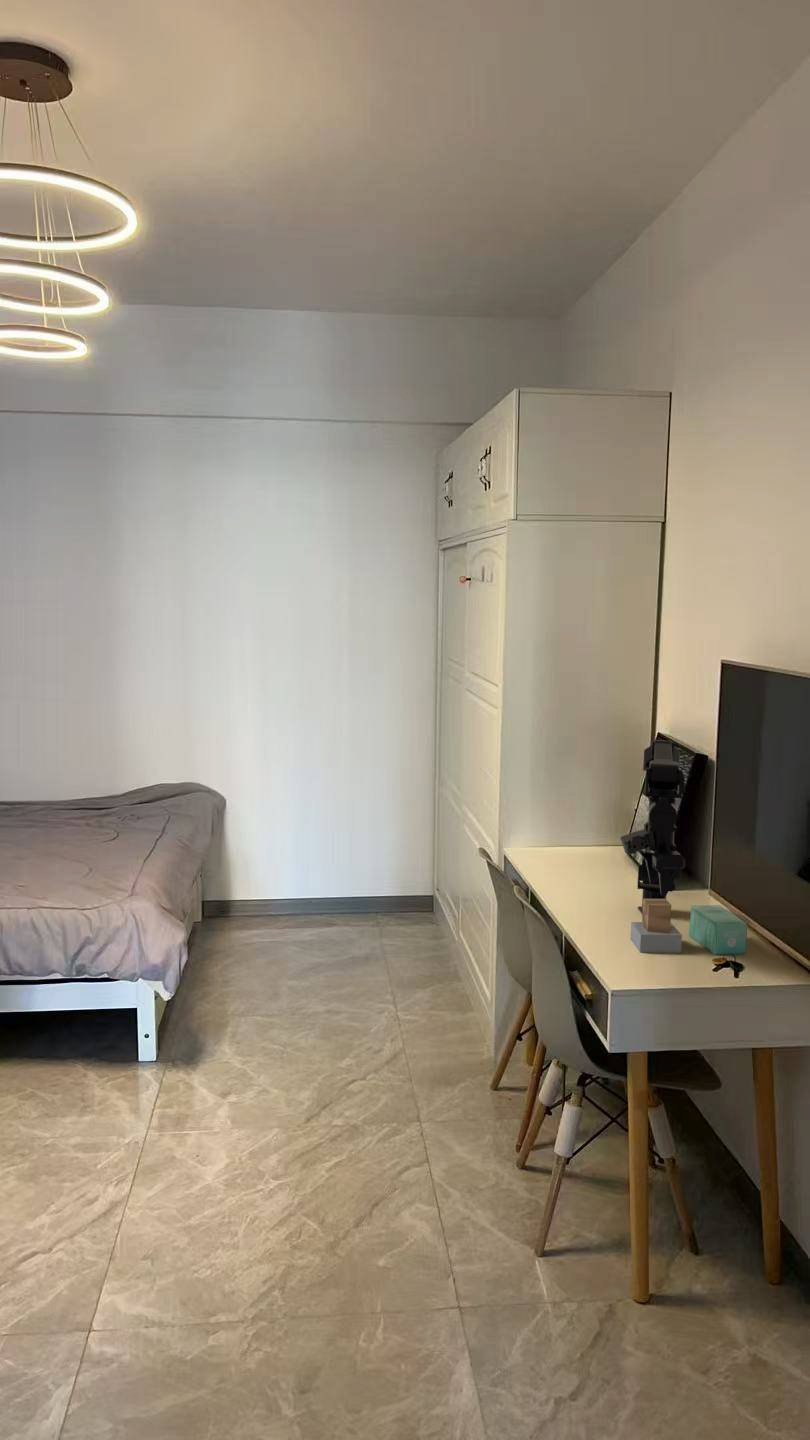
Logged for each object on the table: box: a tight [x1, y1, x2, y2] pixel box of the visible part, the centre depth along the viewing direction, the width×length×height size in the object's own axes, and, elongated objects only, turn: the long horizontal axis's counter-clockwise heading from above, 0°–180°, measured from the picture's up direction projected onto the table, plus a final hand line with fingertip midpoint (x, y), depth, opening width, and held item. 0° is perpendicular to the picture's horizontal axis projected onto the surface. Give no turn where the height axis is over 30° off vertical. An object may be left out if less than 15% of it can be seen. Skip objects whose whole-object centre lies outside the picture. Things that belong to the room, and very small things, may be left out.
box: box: [688, 904, 748, 956], centre depth 241 cm, size 7×14×8 cm, turn 10°
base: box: [629, 921, 683, 954], centre depth 240 cm, size 9×9×4 cm
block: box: [641, 898, 672, 932], centre depth 239 cm, size 5×5×6 cm
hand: (658, 889), depth 239 cm, fingers open, 9 cm apart
